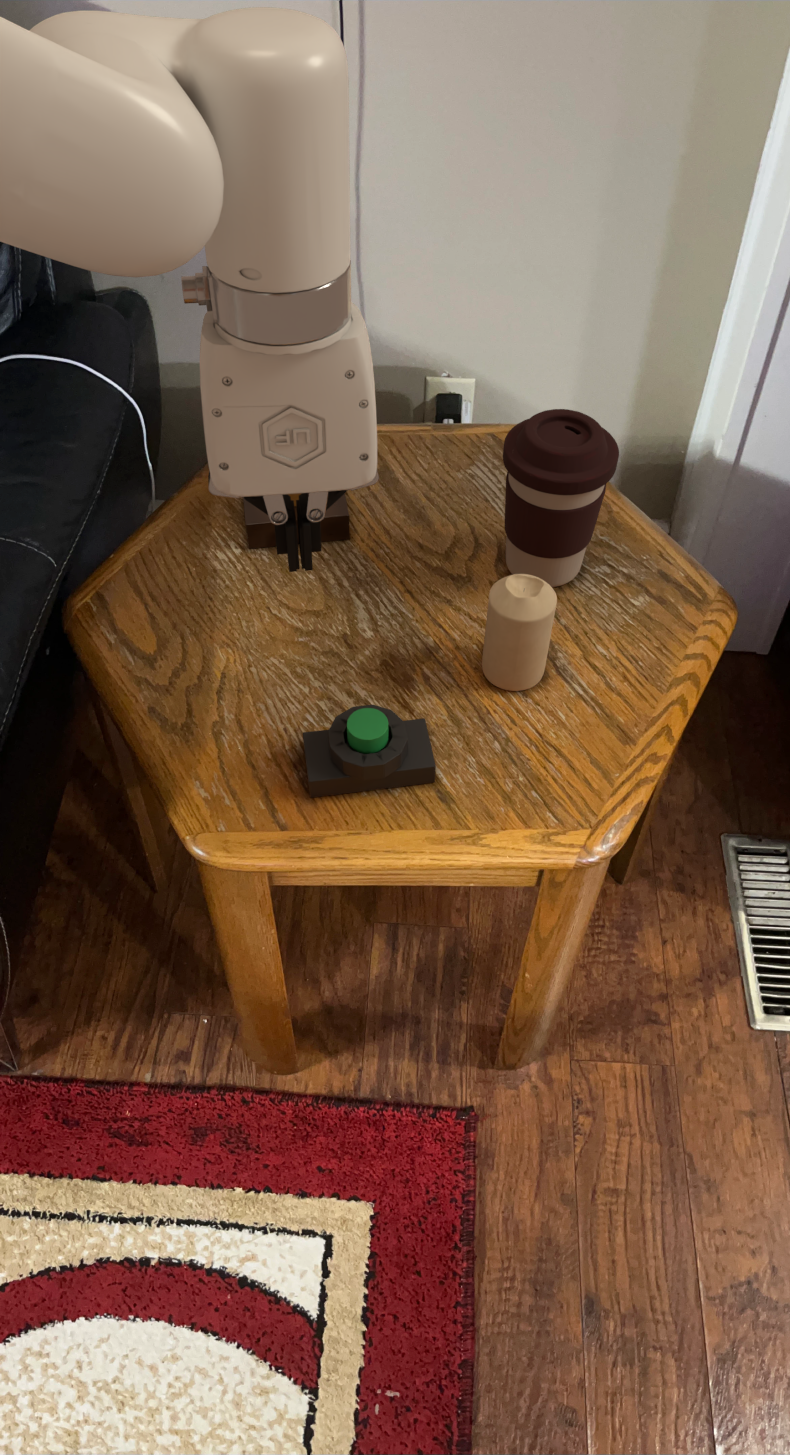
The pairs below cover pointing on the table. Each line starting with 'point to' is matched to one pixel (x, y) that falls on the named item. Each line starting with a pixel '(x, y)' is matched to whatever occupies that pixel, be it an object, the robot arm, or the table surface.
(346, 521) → the plate
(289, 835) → the table surface
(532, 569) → the coffee cup
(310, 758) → the dark grey button housing
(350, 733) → the arm button
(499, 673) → the candle
